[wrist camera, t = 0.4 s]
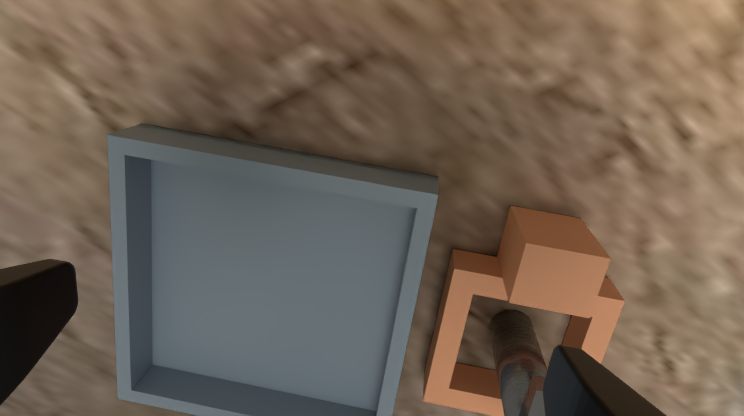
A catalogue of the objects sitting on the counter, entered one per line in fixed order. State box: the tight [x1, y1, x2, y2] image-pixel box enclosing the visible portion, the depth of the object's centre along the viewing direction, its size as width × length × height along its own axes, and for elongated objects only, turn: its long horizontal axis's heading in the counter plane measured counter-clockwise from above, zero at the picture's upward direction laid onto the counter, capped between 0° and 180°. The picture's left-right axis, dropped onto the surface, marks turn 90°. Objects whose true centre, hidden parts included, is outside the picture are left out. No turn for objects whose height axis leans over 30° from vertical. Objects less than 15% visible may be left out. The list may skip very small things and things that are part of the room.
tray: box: [107, 124, 439, 416], centre depth 23 cm, size 13×13×2 cm
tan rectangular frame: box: [423, 206, 625, 416], centre depth 21 cm, size 10×7×4 cm
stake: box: [489, 310, 547, 416], centre depth 20 cm, size 4×2×7 cm, turn 171°
